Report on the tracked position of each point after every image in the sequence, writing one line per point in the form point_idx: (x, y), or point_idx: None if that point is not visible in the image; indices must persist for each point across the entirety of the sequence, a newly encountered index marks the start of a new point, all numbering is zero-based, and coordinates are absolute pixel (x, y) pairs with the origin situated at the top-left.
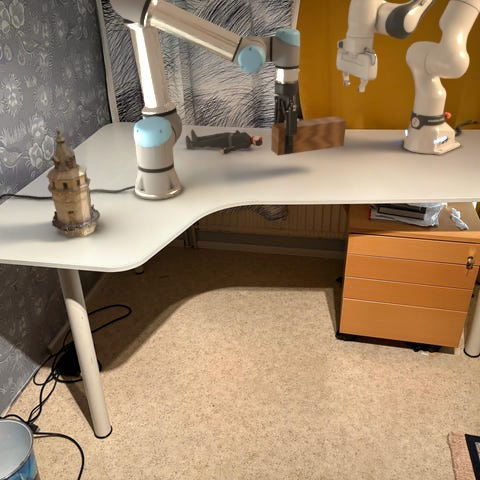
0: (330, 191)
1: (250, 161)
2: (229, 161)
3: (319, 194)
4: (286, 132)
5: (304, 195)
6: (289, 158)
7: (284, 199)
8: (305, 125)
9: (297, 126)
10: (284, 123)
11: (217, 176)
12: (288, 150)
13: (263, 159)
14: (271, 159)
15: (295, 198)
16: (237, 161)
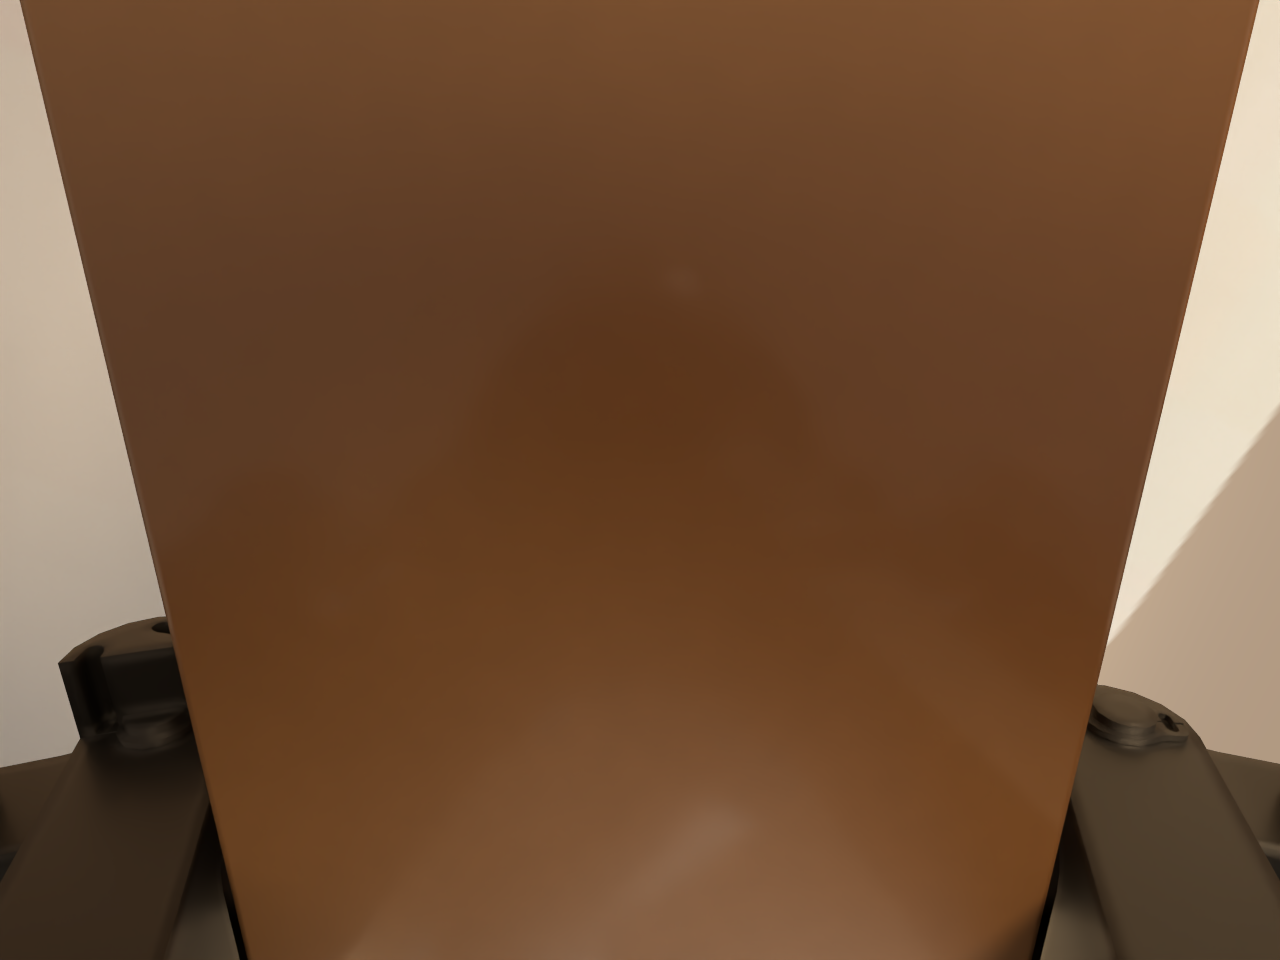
0: (1268, 30)
1: (52, 542)
2: (21, 729)
3: (1251, 211)
4: (1032, 957)
5: (1169, 383)
6: (6, 18)
7: (1129, 597)
8: (1203, 76)
9: (1074, 606)
10: (370, 923)
11: None
12: None
13: (3, 381)
14: (15, 286)
15: (1173, 497)
16: (32, 662)
